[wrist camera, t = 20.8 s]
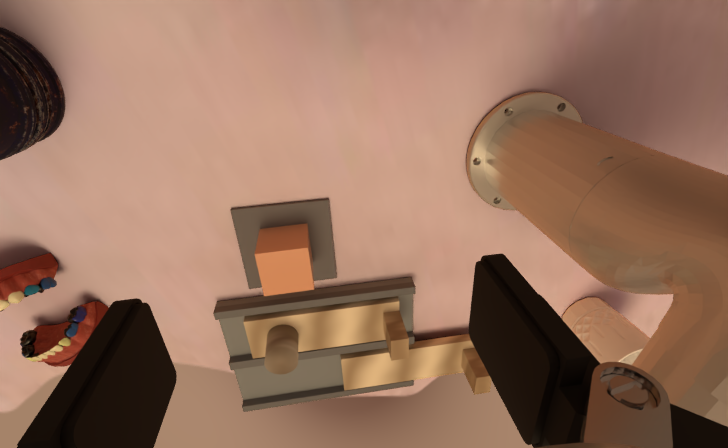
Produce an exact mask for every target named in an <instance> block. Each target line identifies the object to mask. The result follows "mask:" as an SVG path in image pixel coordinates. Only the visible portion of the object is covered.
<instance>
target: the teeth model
mask: <svg viewBox="0 0 728 448" xmlns="http://www.w3.org/2000/svg"><path fill="white" fill-rule="evenodd" d="M57 268H58V263H57V261H56V260H55V258H54V257H53V255H52V254H51V253H48V254H45V255H41V256H38V257H35V258H32V259H29V260H26V261H23V262H20V263H17V264H14V265H11V266H8V267H6V268H3V269H0V311H3V310H4V309H5V308H7V307H8V306H9V305H10V303H19V302H20V301H21V300H22V299H23V298H24V297H27V296H29V295H33V294H35V293H37V292H40V293H42V292H43V291H44V290H45V289H49V288H50V287H55V286H56V284H57V283H56V281H55V280H54V277H55V275H56V271H57ZM8 301H9V302H10V303H9V302H8ZM108 309H109V308H108V307H107V306H106V305H105V304H102V303H100V302H98V301H97V302H90V303H87V304H84V305H80V306H77V307H75V308H74V309H72V310H71V311H70V314H69V316H68V321H67V322H65V323H62V324H58V325H42V326H37V327H36V328H35V329H34V330H29V331H26V332H25V333H23V335H22V338H21V339H20V340H21V343H20V345H21V346H22V355H23V356H24V357H25V358H27V359H29V360H30V361H34V362H35V361H38V362H45V363H47V364H48V365H51V366H55V367H56V366H61V367H62V366H67V365H70V364H72V362H73V361H74V359H75V358H76V356H77V355H78V353H79V352H80V350H81V349H82V347H83V346H84V344H85V343H86V341H87V340H88V339H89V337H90V336H91V334H92V333H93V331H94V330H95V328H96V327H97V325H98V324H99V322H100V321H101V319H102V318H103V316H104V315H105V313H106V312H107V310H108Z"/></svg>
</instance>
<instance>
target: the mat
mask: <svg viewBox="0 0 728 448" xmlns="http://www.w3.org/2000/svg"><path fill="white" fill-rule="evenodd" d="M231 214H232V219H233V223H234V227H235V231H236V235H237V239H238V244H239V248H240V252H241V256H242V260H243V265H244V269H245V273H246V277H247V281H248V285H249V289H252V288H260V287H262V284H261V280H260V276H259V271H258V267H257V263H256V258H255V250H256V245H257V240H258V235H259V230H260V229H264V228H272V227H281V226H289V225H298V224H306V223H307V224H308V231H309V238H310V245H311V252H312V259H313V273H314V281H317V280H325V279H333V278H337V276H336V266H335V256H334V246H333V236H332V227H331V217H330V207H329V199H319V200H309V201H300V202H290V203H280V204H271V205H261V206H251V207H241V208H232V209H231Z"/></svg>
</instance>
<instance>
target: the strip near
mask: <svg viewBox="0 0 728 448" xmlns="http://www.w3.org/2000/svg"><path fill="white" fill-rule="evenodd" d="M243 323H244V326H245V330H246V334H247V338H248V342H249V345H250V349H251V353H252V357H253V359H254V358H261V357H265V352H266V343H267V334H268V332H269V330H270V329H271V328H273V327H274V326H277V325H282V324H285V325H290V326H292V327H294V328H295V329H296V330H297V332H298V352H303V351H310V350H317V349H324V348H331V347H338V346H345V345H352V344H359V343H366V342H373V341H380V340H386V343H387V347H388V350H389V354H390V358H391V361H393V360H399V359H406V358H409V338H408V335H407V332H406V329H405V326H404V323H403V320H402V317H401V314H400V311H399V299H398V296H394V297H386V298H379V299H371V300H363V301H356V302H348V303H340V304H333V305H325V306H318V307H310V308H302V309H295V310H287V311H279V312H272V313H264V314H257V315H249V316H244V321H243Z"/></svg>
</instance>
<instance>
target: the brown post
mask: <svg viewBox="0 0 728 448" xmlns="http://www.w3.org/2000/svg"><path fill="white" fill-rule="evenodd" d="M264 365H265V367H266V369H267V370H268V371H269V372H271V373H274V374H287V373H290V372H292V371H293V370H294V369H295V368H296V367H297V365H298V332H297V330H296V329H295V328H294V327H292V326H290V325H285V324H282V325H277V326H274V327H273V328H271V329H270V330H269V332H268V334H267V343H266V352H265V361H264Z"/></svg>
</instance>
